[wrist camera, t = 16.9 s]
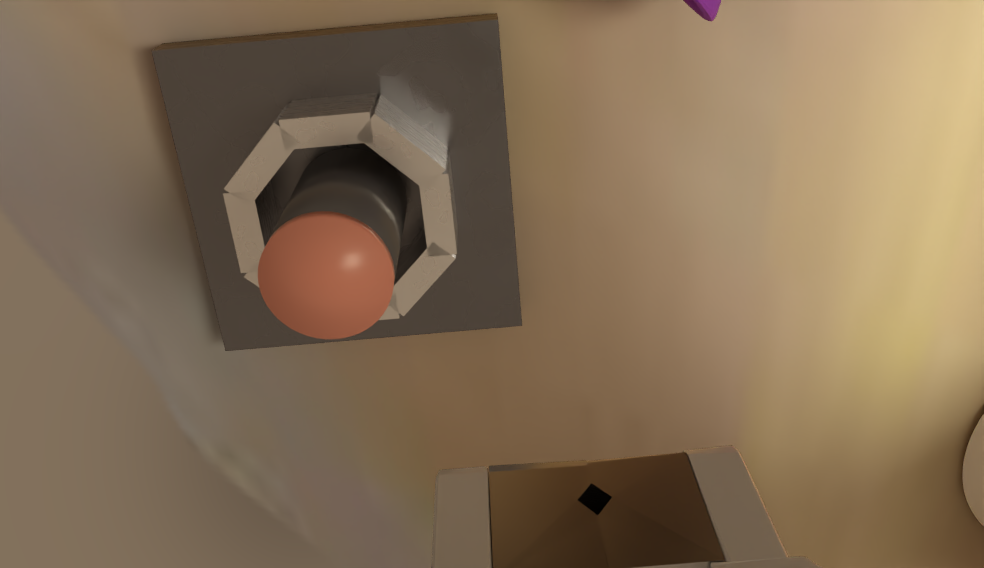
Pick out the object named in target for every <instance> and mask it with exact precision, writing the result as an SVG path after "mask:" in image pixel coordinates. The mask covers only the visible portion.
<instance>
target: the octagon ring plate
mask: <svg viewBox="0 0 984 568" xmlns="http://www.w3.org/2000/svg"><path fill="white" fill-rule="evenodd" d="M152 55H153V59H154V63H155V67H156V71H157V75H158V79H159V83H160V87H161V91H162V95H163V99H164V103H165V107H166V111H167V115H168V119H169V124H170V128H171V132H172V136H173V140H174V144H175V148H176V152H177V156H178V160H179V164H180V168H181V172H182V176H183V180H184V184H185V188H186V192H187V196H188V201H189V205H190V209H191V213H192V217H193V221H194V225H195V229H196V233H197V237H198V241H199V245H200V249H201V253H202V257H203V261H204V265H205V269H206V273H207V278H208V282H209V286H210V290H211V294H212V298H213V302H214V306H215V310H216V314H217V318H218V322H219V326H220V330H221V334H222V338H223V342H224V346H225V351H232V350H244V349H255V348H267V347H279V346H290V345H302V344H314V343H325V342H337V341H349V340H360V339H372V338H384V337H395V336H407V335H419V334H431V333H442V332H454V331H466V330H477V329H489V328H501V327H512V326H522V319H521V307H520V294H519V281H518V268H517V256H516V243H515V230H514V217H513V204H512V192H511V179H510V166H509V153H508V140H507V128H506V115H505V102H504V89H503V76H502V64H501V51H500V38H499V25H498V17H497V13H496V14H485V15H474V16H463V17H452V18H441V19H429V20H418V21H407V22H396V23H385V24H374V25H363V26H352V27H341V28H330V29H319V30H308V31H297V32H285V33H274V34H263V35H252V36H241V37H230V38H219V39H208V40H197V41H186V42H175V43H164V44H161V45H160V46H158V47H157V48H155V49H154V50H152ZM343 148H355V149H361V150H365V151H368V152H371V153H373V154H375V155H377V156H379V157H381V158H382V159H384V160H385V161H386V162H387V163H389V164H390V165H391V166H392V167H393V168H394V170H395V171H396V172H397V174H398V175H399V177H400V178H401V180H402V183H403V185H404V188H405V191H406V197H407V209H406V216H405V222H404V228H403V234H402V240H401V246H400V252H399V258H398V264H397V270H396V275H395V281H394V287H393V293H392V297H391V300H390V303H389V305H388V307H387V309H386V311H385V312H384V314H383V315H382V316H381V317H380V319H379V320H378V321H377V322H376V323H374V324H373V325H372V326H371V327H369V328H368V329H366V330H365V331H363V332H361V333H359V334H356V335H353V336H350V337H346V338H341V339H320V338H314V337H310V336H307V335H304V334H301V333H299V332H297V331H295V330H293V329H291V328H289V327H288V326H286V325H285V324H284V323H282V322H281V321H280V320H279V319H278V318H277V317H276V316H275V315H274V314H273V313H272V312H271V310H270V309H269V308H268V306H267V305H266V303H265V301H264V299H263V297H262V294H261V292H260V288H259V284H258V265H259V260H260V257H261V255H262V252H263V250H264V248H265V246H266V244H267V242H268V240H269V238H270V236H271V234H272V232H273V230H274V228H275V226H276V225H277V223H278V221H279V219H280V217H281V215H282V213H283V211H284V209H285V207H286V205H287V203H288V201H289V199H290V197H291V195H292V193H293V191H294V189H295V187H296V185H297V183H298V181H299V179H300V177H301V176H302V174H303V172H304V170H305V169H306V168H307V166H308V165H309V164H310V163H311V162H312V161H313V160H315V159H316V158H317V157H319V156H321V155H322V154H324V153H327V152H329V151H332V150H336V149H343Z"/></svg>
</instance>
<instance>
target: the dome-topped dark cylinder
mask: <svg viewBox="0 0 984 568" xmlns="http://www.w3.org/2000/svg"><path fill="white" fill-rule="evenodd" d="M406 209H407V197H406V191H405V188H404V185H403V183H402V180H401V178H400V177H399V175H398V174H397V172H396V171H395V170H394V168H393V167H392V166H391V165H390V164H389V163H387V162H386V161H385V160H384V159H382V158H381V157H379V156H377V155H375V154H373V153H371V152H368V151H365V150H361V149H355V148H343V149H336V150H332V151H329V152H327V153H324V154H322V155H321V156H319V157H317V158H316V159H315V160H313V161H312V162H311V163H310V164H309V165H308V166H307V168H306V169H305V170H304V172H303V174H302V176H301V177H300V179H299V181H298V183H297V185H296V187H295V189H294V191H293V193H292V195H291V197H290V199H289V201H288V203H287V205H286V207H285V209H284V211H283V213H282V215H281V217H280V219H279V221H278V223H277V225H276V226H275V228H274V230H273V232H272V234H271V236H270V238H269V240H268V242H267V244H266V246H265V248H264V250H263V252H262V255H261V257H260V260H259V265H258V284H259V288H260V292H261V294H262V297H263V299H264V301H265V303H266V305H267V306H268V308H269V309H270V310H271V312H272V313H273V314H274V315H275V316H276V317H277V318H278V319H279V320H280V321H281V322H282V323H284V324H285V325H286V326H288V327H289V328H291V329H293V330H295V331H297V332H299V333H301V334H304V335H307V336H310V337H314V338H320V339H341V338H346V337H350V336H353V335H356V334H359V333H361V332H363V331H365V330H366V329H368V328H369V327H371V326H372V325H373V324H374V323H376V322H377V321H378V320H379V319H380V317H381V316H382V315H383V314H384V312H385V311H386V309H387V307H388V305H389V303H390V300H391V297H392V293H393V287H394V281H395V275H396V270H397V264H398V258H399V252H400V246H401V240H402V234H403V228H404V222H405V216H406Z"/></svg>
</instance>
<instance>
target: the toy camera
mask: <svg viewBox="0 0 984 568" xmlns="http://www.w3.org/2000/svg"><path fill="white" fill-rule="evenodd" d="M683 1H684V2H685V3H687V4H688V5H689V6H690V7H691V8H692V9H693V10H694V11H695V12H696V13H697V14H699V15H700V16H701V17H702V18H704V19H706V20H708V21H713V20H714V18H715V17H716V15H717V12H718V9H719V6H720V3H721V0H683Z"/></svg>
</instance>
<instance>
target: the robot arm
mask: <svg viewBox="0 0 984 568" xmlns="http://www.w3.org/2000/svg"><path fill="white" fill-rule="evenodd" d="M962 477H963V488H964V493H965V497H966V500H967V503H968V505H969V507H970V509H971V511H972V513H973V514H974V516H975V517H976V518H977V520H978V521H979V522H980V523H981V524H982V525H983V526H984V414H983V415H982V417H981V418H980V420H979V422H978V424H977V425H976V427H975V429H974V431H973V433H972V435H971V438H970V440H969V443H968V446H967V449H966V453H965V457H964V463H963V474H962ZM431 568H822V567H821V566H819V565H818V564H816V563H814V562H813V561H811V560H810V559H808V558H807V557H805V556H797V557H788V554H787V552H786V550H785V548H784V546H783V544H782V542H781V539H780V537H779V535H778V533H777V531H776V529H775V527H774V524H773V522H772V520H771V518H770V516H769V514H768V512H767V509H766V507H765V505H764V503H763V501H762V499H761V497H760V494H759V492H758V490H757V488H756V486H755V484H754V482H753V479H752V477H751V475H750V473H749V471H748V469H747V467H746V464H745V462H744V460H743V458H742V456H741V454H740V452H739V450H738V449H736V448H735V447H734V446H732V445H729V446H720V447H711V448H702V449H693V450H684V451H683V452H682V453H670V454H658V455H647V456H635V457H624V458H612V459H601V460H589V461H586V460H578V461H562V462H546V463H529V464H513V465H497V466H489V470H488V468H487V467H472V468H459V469H445V470H439V472H438V474H437V477H436V484H435V504H434V525H433V546H432V566H431Z"/></svg>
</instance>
